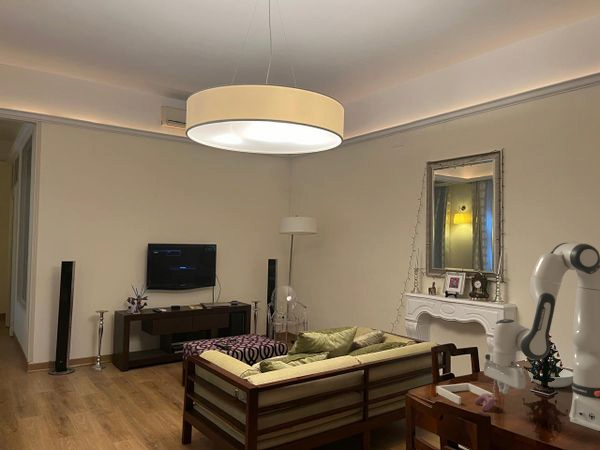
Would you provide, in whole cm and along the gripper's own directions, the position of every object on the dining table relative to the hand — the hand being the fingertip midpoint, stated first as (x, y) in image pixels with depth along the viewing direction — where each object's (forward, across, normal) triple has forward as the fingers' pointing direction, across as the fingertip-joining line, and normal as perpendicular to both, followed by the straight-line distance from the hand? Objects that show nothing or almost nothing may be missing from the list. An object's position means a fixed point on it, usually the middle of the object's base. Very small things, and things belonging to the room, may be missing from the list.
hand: (503, 393), depth 194 cm
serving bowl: (+9, +28, -55) cm, 63 cm away
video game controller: (+10, +11, 0) cm, 15 cm away
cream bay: (+10, +25, -1) cm, 27 cm away
